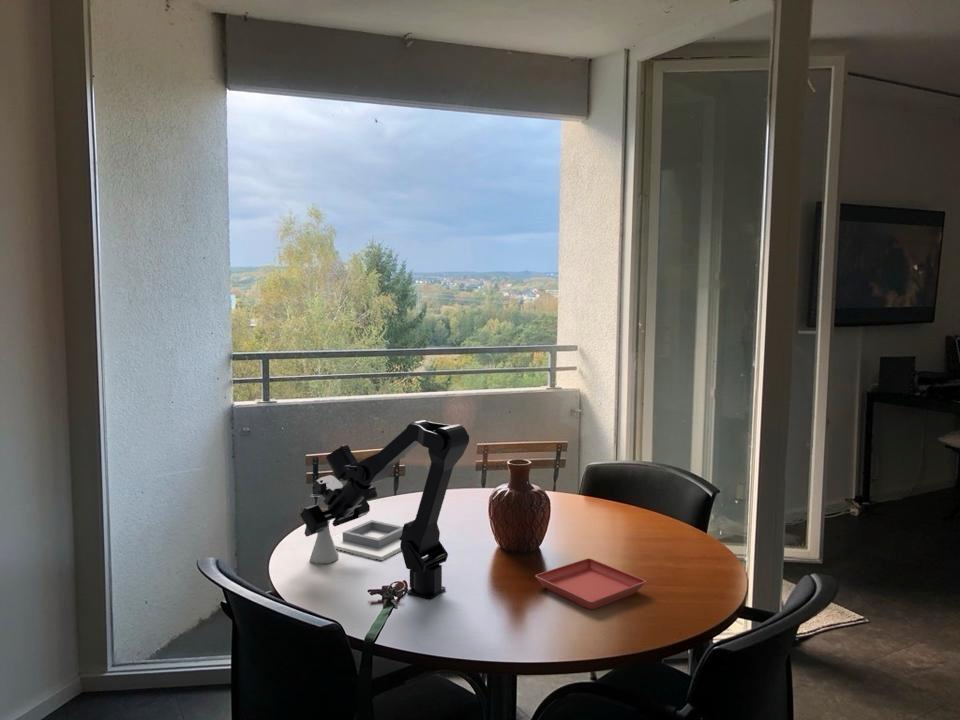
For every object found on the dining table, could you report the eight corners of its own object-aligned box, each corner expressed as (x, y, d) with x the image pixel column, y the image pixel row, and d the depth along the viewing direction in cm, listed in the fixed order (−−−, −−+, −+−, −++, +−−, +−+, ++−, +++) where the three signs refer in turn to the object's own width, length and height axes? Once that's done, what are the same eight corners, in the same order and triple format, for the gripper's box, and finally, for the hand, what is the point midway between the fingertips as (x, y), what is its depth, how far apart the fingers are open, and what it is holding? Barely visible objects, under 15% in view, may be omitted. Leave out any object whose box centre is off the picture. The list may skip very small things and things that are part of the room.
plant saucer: (533, 588, 165) (533, 574, 165) (588, 569, 176) (588, 556, 176) (591, 617, 151) (591, 601, 151) (647, 595, 162) (647, 580, 162)
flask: (331, 565, 177) (331, 526, 176) (304, 563, 178) (303, 524, 177) (343, 555, 184) (342, 517, 183) (316, 552, 185) (316, 514, 184)
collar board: (426, 537, 197) (426, 525, 197) (381, 560, 180) (381, 548, 180) (369, 524, 207) (369, 513, 207) (320, 545, 190) (320, 534, 190)
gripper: (361, 460, 184) (331, 495, 191) (304, 475, 169) (274, 512, 176) (384, 495, 180) (353, 530, 187) (328, 514, 165) (296, 551, 172)
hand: (320, 529), depth 181 cm, fingers open, 9 cm apart
